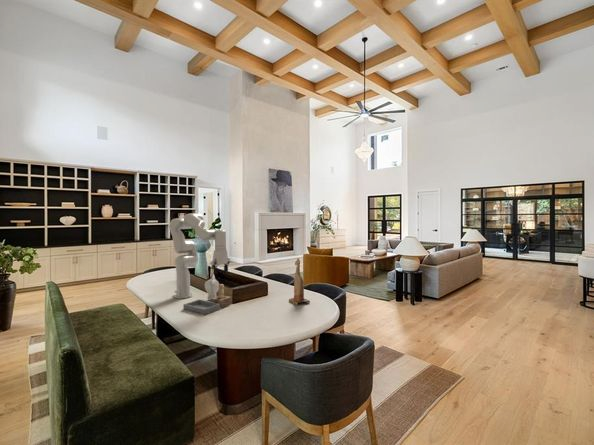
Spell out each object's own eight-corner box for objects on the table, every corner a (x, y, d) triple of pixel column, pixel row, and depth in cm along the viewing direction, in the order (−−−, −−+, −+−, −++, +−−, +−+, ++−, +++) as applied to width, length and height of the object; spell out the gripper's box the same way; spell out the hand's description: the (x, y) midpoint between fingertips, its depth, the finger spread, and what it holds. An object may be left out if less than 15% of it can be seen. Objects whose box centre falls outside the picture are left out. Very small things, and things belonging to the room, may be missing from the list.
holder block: (210, 305, 200) (210, 298, 199) (221, 301, 208) (221, 294, 208) (221, 308, 194) (221, 300, 194) (231, 304, 203) (231, 296, 203)
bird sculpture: (301, 299, 214) (300, 256, 214) (310, 303, 204) (309, 257, 204) (288, 302, 208) (287, 257, 208) (297, 306, 198) (295, 259, 198)
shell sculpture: (211, 302, 207) (210, 277, 206) (204, 300, 212) (203, 275, 211) (220, 299, 214) (220, 275, 213) (213, 297, 219) (213, 273, 218)
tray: (183, 309, 191) (183, 304, 191) (199, 304, 203) (199, 299, 202) (204, 315, 181) (204, 309, 181) (220, 309, 192) (219, 303, 192)
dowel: (217, 305, 201) (217, 285, 200) (221, 303, 204) (221, 283, 203) (221, 306, 199) (221, 285, 198) (225, 304, 202) (224, 284, 201)
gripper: (225, 246, 210) (226, 270, 210) (206, 249, 195) (207, 274, 195) (233, 246, 206) (233, 271, 206) (214, 249, 191) (215, 275, 191)
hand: (220, 272), depth 201 cm, fingers open, 9 cm apart
